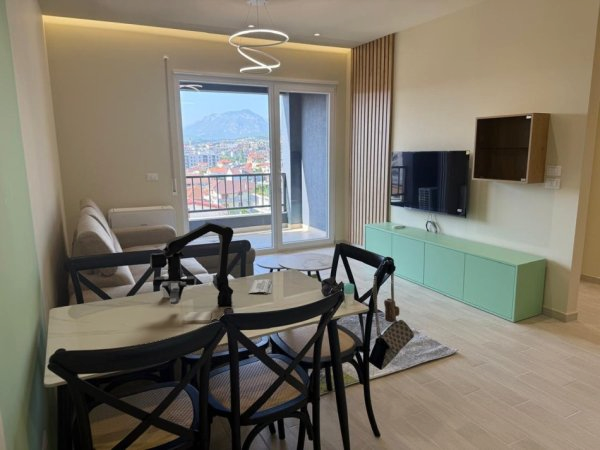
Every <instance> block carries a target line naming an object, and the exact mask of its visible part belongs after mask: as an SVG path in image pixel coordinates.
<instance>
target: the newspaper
mask: <svg viewBox="0 0 600 450" xmlns="http://www.w3.org/2000/svg"><path fill="white" fill-rule="evenodd" d="M252 281H253V282H252V284H251V286H250V288H249V291H248V294H254V293H262V294H264V295H268V294H272V288H273V287H272V286H273V284H272V280H271V279H269V278H268V279H265V278H264V279H256V280H252Z"/></svg>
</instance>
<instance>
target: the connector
mask: <svg viewBox="0 0 600 450" xmlns="http://www.w3.org/2000/svg"><path fill="white" fill-rule="evenodd" d="M181 299H182V297H181V298H180V299H179V286H178V287H175V288H173V289H172V290H171V292H170V299H169V304H170V305H177V304H179V303H180V301H181Z"/></svg>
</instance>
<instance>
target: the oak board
mask: <svg viewBox="0 0 600 450" xmlns="http://www.w3.org/2000/svg"><path fill="white" fill-rule="evenodd" d="M212 317H213V311H186V312H185V314H184V315H183V318H182V320H181V324H202V323H203V324H206V323H207V324H208V323H211V320H212Z"/></svg>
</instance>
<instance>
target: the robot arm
mask: <svg viewBox="0 0 600 450" xmlns="http://www.w3.org/2000/svg"><path fill="white" fill-rule="evenodd" d="M210 232H211V233H213V234H217V236H218V240H219V250H218V251H219V252H218V253H219V254H218V263H217V271H216V274H213V275H212V278H213V280H212V282H211V283H212V284H213V286H214V288H215V289H216V290H217V291H218V294H217V306H218V307H219V308H220V307H221V308H223V307H224V308H225V307H228V308H229V307H232V306H233V294H234V289H233V288H232V287H230V284H229V283H230V282H229V278H228V263H229V253H230V252H229V250H230V245H231V242H232V240H233V237H234V230H233V228H232V227H230V226H229V225H226V224H222V225H219V224H215V223H212V222H211V221H210V222H209V221H207V222H206V223H204V224H203V225H201V226H199V227H197V228H195V229H193V230H191V231H188V232H187V233H185V234H184V235H183V234H182V235H179V236H175V237H172V238H170V239H168V240H167V241H166V243H165V247H164V249H163V250H162V251H161V253H160V252H159V253H150V257H149V258H150V260H149V264H150V265H149V267H150V269H151V270H153V269H154V270H155V269H162V268H165V267H166V266H167V273H168V279H164V277H162V276H156V277H155V278H154V279H153V280H152V286H153V287H160V286H161V287H164V288H165V290H166V291H167V293H168V295H169V296H170V292H171V283H178V284H180V285H178V287H179V299H180V298H181V299H182V294H183V292H184V288H186V287H187V286H194V285H196V283H197V277H196V276H195V275H193V276H191V275H187V276H186V278H184V270H183V269H182V265H181V264H182V263H181V260H182V259H181V257H185V256H186V255H185V254H184V253H183V252H182V250H183V249H184V248H185V247H186V246H187V245H188V244H190V243H191V242H193V241H195V240H197V239H199V238H201V237H203V236H204V235H206V234H208V233H210ZM181 299H180V300H181Z"/></svg>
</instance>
